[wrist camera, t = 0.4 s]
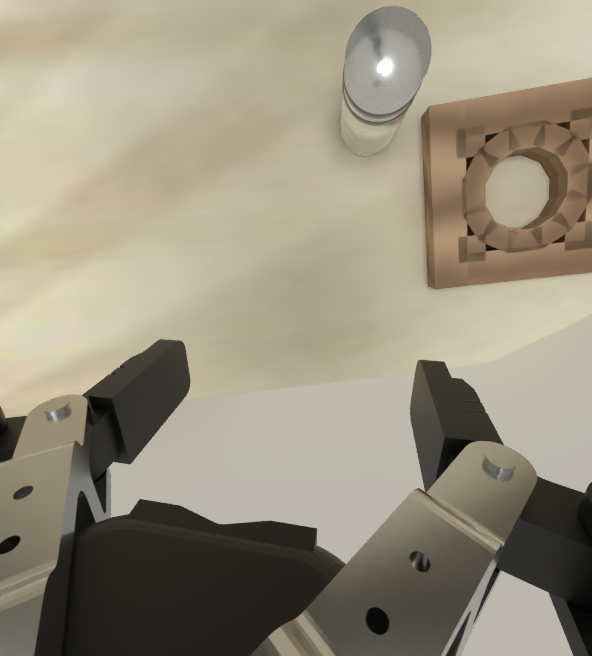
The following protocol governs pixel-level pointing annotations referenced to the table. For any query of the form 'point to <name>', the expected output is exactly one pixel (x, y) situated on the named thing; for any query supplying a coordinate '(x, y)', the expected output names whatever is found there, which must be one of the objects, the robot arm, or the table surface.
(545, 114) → the ring block
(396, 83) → the salt shaker
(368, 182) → the table surface
